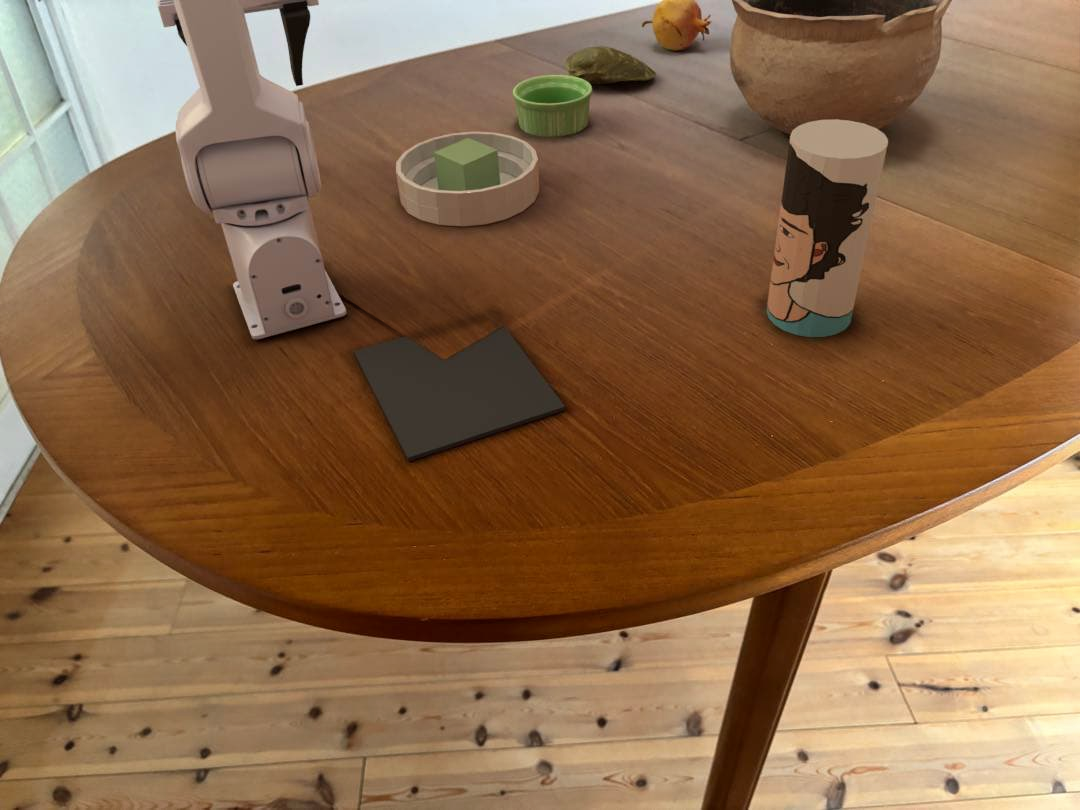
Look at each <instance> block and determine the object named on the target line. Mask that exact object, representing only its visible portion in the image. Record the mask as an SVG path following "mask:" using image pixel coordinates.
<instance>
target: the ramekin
mask: <svg viewBox="0 0 1080 810" xmlns="http://www.w3.org/2000/svg"><path fill="white" fill-rule="evenodd" d="M592 94H593V86H592V85H591V84H590V83H588V82H587V81H585V80H583V79H581V78H578V77H573V76H570V75H565V74H547V75H546V74H545V75H539V76H538V75H537V76H534V77H530V78H528V79H525V80H522V81H521V82H519V83H517V84H516V85H515V86H514V88H513V89H512V96H513V99H514V102H515V107H516V113H517V120H518V126H519V128H520V129H521V130H522V131H523V132H525V133H527V134H530V135H533V136H538V137H545V138H552V137H554V138H555V137H565V136H569V135H574V134H576V133H579V132H581V131H583V130H584V129H585V128H587V126H588V125H589V117H590V105H591V104H590V102H591V98H592Z"/></svg>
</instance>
